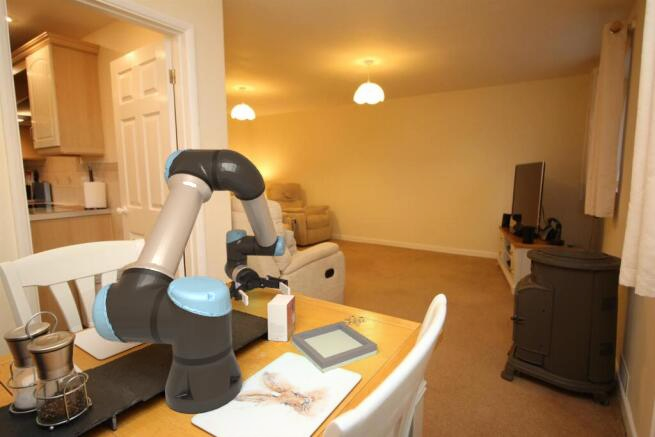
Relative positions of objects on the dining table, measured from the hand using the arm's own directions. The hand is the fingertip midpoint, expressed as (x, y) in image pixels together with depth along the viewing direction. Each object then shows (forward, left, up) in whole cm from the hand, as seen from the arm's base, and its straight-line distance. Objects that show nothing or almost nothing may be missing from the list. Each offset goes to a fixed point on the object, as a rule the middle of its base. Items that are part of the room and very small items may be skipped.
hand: (268, 296), depth 104 cm
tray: (+8, -24, -8) cm, 26 cm away
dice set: (+22, -14, -9) cm, 28 cm away
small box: (0, -10, -8) cm, 13 cm away
